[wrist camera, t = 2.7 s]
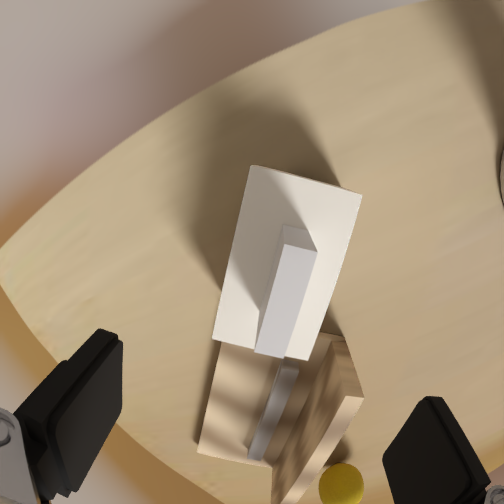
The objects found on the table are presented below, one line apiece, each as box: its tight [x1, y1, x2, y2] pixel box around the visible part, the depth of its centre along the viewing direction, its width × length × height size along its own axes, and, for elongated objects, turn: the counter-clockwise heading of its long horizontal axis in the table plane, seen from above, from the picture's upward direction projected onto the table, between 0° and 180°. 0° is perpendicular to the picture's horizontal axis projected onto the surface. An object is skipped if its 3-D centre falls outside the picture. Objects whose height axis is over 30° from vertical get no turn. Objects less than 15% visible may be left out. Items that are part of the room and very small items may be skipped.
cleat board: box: [197, 332, 364, 504], centre depth 27 cm, size 20×11×9 cm, turn 167°
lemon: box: [319, 463, 364, 504], centre depth 30 cm, size 6×6×8 cm
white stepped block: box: [212, 165, 362, 361], centre depth 21 cm, size 12×7×12 cm, turn 167°
